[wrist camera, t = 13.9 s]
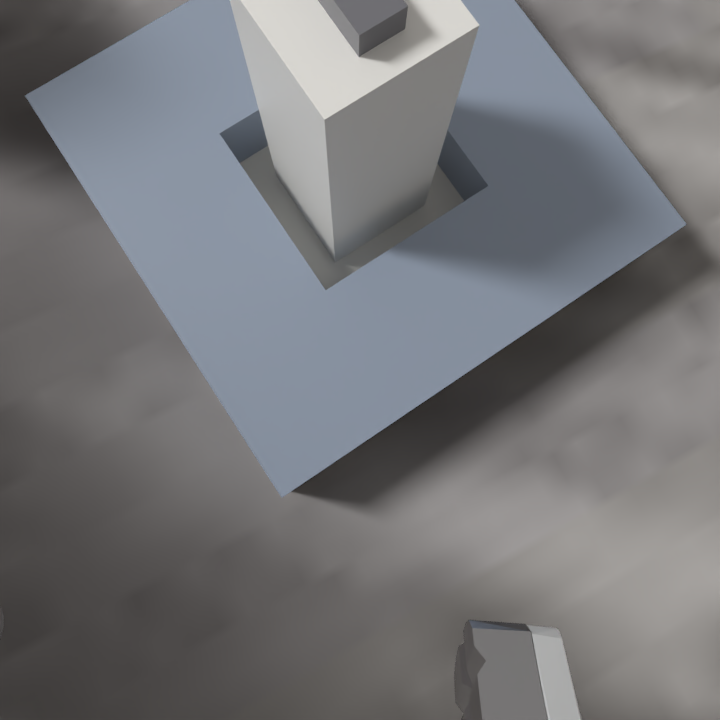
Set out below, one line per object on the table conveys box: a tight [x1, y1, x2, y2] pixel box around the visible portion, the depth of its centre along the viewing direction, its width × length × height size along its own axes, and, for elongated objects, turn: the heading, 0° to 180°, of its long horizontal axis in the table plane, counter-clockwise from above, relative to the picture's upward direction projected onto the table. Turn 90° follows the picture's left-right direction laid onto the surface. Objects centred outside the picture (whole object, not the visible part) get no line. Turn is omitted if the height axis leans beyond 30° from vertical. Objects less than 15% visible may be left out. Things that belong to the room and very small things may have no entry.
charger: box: [230, 0, 479, 262], centre depth 18 cm, size 4×4×11 cm
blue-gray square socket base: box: [25, 0, 687, 497], centre depth 22 cm, size 16×16×3 cm
